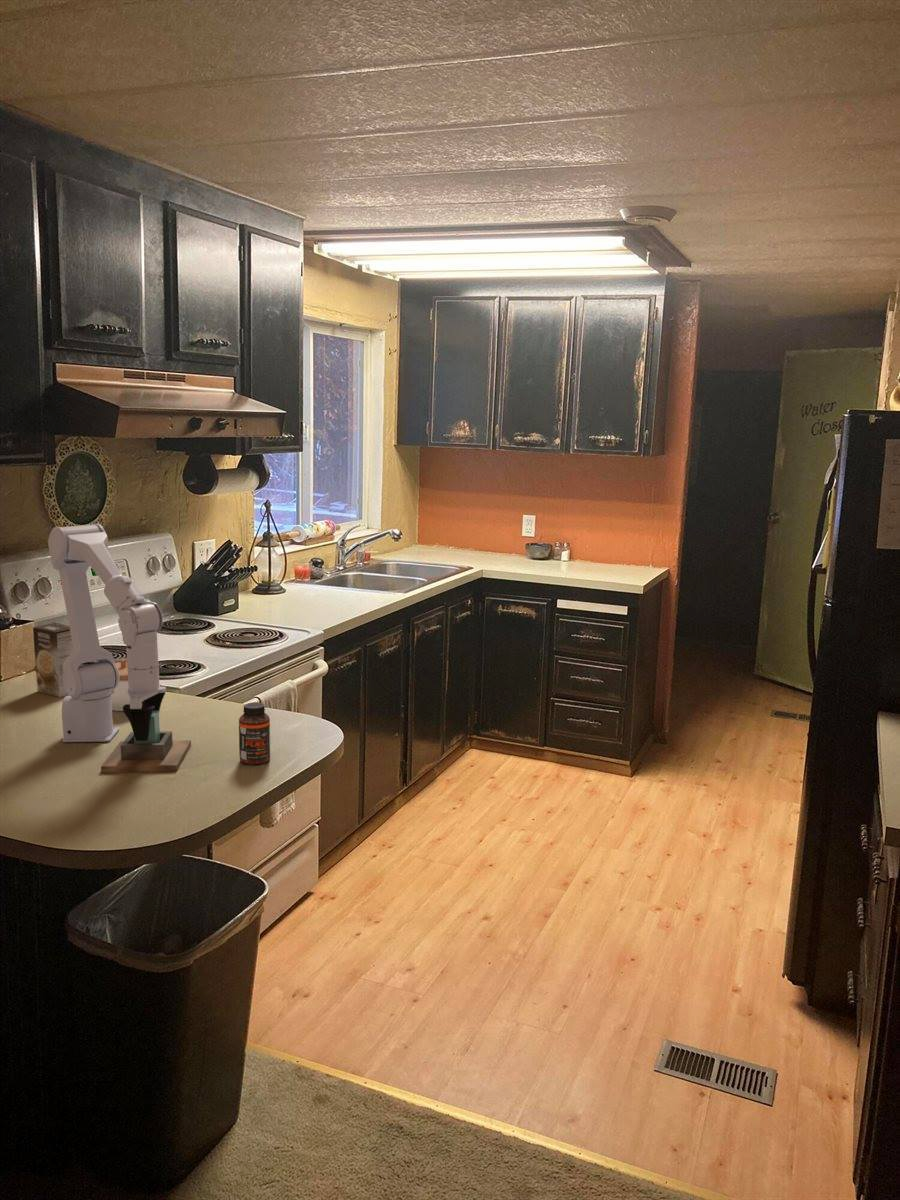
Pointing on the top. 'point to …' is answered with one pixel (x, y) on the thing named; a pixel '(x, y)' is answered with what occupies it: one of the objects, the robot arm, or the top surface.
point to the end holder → (147, 755)
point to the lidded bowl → (121, 688)
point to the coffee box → (51, 656)
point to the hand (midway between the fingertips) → (146, 733)
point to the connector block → (152, 729)
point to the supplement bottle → (254, 734)
